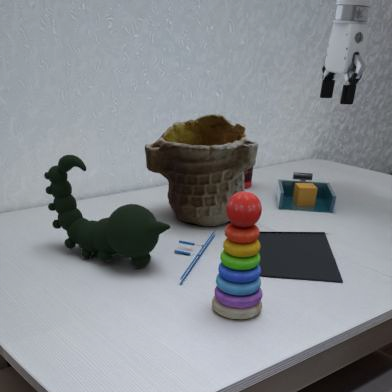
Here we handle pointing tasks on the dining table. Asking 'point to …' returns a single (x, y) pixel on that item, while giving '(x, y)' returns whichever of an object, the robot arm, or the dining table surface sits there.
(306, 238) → the mat
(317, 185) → the dish
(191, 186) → the ceramic vessel
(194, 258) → the chopsticks
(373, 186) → the dining table surface
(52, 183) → the toy figurine
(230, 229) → the stacking toy
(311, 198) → the block
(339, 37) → the robot arm
